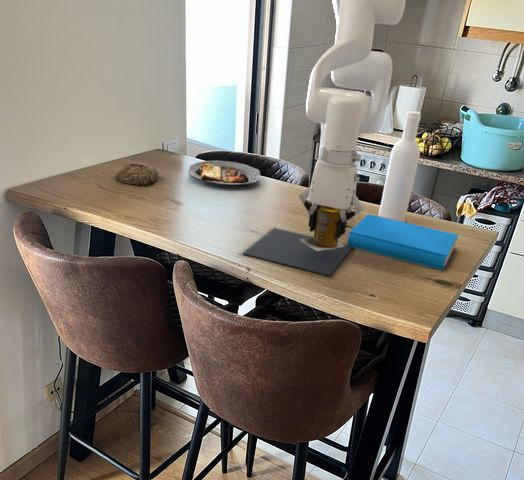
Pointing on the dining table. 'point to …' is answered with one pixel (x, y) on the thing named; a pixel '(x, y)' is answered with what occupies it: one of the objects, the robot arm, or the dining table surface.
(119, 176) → the bread roll
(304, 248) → the mat
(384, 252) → the book
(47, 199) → the dining table surface
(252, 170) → the food plate
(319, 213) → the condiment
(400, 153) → the bottle
